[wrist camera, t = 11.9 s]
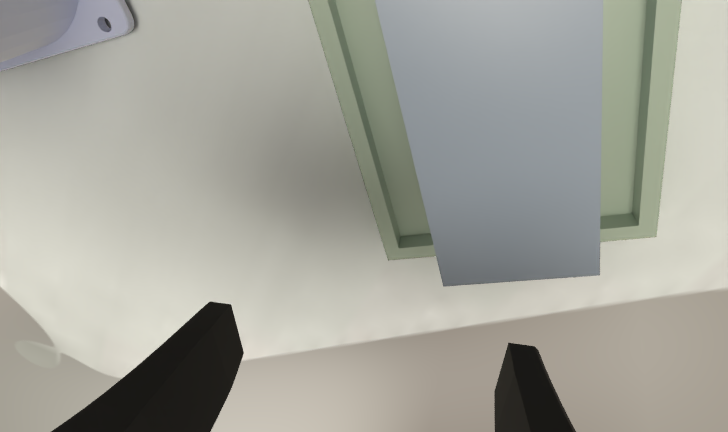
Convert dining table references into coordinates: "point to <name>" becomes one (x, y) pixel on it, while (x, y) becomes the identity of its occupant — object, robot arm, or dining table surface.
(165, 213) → the dining table surface
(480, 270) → the grey oblong block
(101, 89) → the dining table surface
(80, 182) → the dining table surface
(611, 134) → the sage tray
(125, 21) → the robot arm
